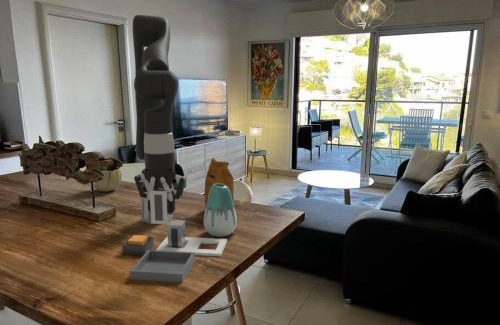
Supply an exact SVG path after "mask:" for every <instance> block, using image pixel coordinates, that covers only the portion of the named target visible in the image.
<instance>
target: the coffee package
mask: <svg viewBox="0 0 500 325" xmlns="http://www.w3.org/2000/svg"><path fill="white" fill-rule="evenodd" d="M228 166H230V164H229V162H228V161H219V160H218V161H217V160H216V158H214V157H212V158H211V160H210V163H209V167H208V169H207V172H206V175H205V183H204V209H205V208H206V205H207V201H208V196H209V192H210V189H211V187H212V186H213V184H216V183H220V184H224V185H226V186H228V188H229V190H230V192H231V196H232V201H233V204H234V202H235V200H234V199H235V196H234V191H235V190H234V187H235V186H234V181H235V180H234V177H233V174H232V173H231V171H230V170H229V167H228ZM234 205H235V204H234Z"/></svg>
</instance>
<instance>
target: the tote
mask: <svg viewBox="0 0 500 325" xmlns="http://www.w3.org/2000/svg"><path fill="white" fill-rule="evenodd" d="M194 262H196V255H195V252H181V251H162V250H156V249H150V250H148V251H147V252H146V253H145V254H144V255H142V256H141V257H140V258H139V260H138V261H137V262H136V264H135V265H133V266H132V268H130V270H129V279H130V280H132V281H134V280H136V281H147V282H148V281H150V282H166V283H167V282H169V283H184V280H186V277H187V275H188V274H189V272H190V271H191V268H192V267H193V265H194Z"/></svg>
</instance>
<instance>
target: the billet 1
mask: <svg viewBox="0 0 500 325" xmlns="http://www.w3.org/2000/svg"><path fill="white" fill-rule="evenodd" d="M168 201H169V199H168V193H167V191H165V190H164V189H161V188H157V189H154V190H150V207H151V225H168V224H169V223H170V222H171V220H174V219H173V218H174V216H173V214H174V212H173V213H172V214H169V213H168Z"/></svg>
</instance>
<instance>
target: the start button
mask: <svg viewBox="0 0 500 325" xmlns="http://www.w3.org/2000/svg"><path fill="white" fill-rule="evenodd" d="M132 236H133V237H132ZM132 236H131V237H130V238H128V239H127V240H128V244H131V245H144V244H145V243H146V241H147V240H148V237H149V236H148V235H143V234H140V235H139V234H138V235H137V234H134V235H132Z"/></svg>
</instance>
